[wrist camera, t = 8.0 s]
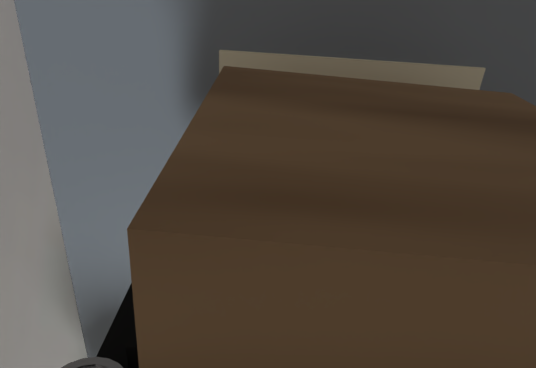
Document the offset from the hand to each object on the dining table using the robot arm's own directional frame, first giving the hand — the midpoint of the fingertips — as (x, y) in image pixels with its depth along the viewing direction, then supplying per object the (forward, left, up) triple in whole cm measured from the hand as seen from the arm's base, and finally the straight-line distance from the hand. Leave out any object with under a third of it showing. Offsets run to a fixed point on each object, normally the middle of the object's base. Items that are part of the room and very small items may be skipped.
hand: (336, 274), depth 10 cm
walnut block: (0, 0, -1) cm, 1 cm away
